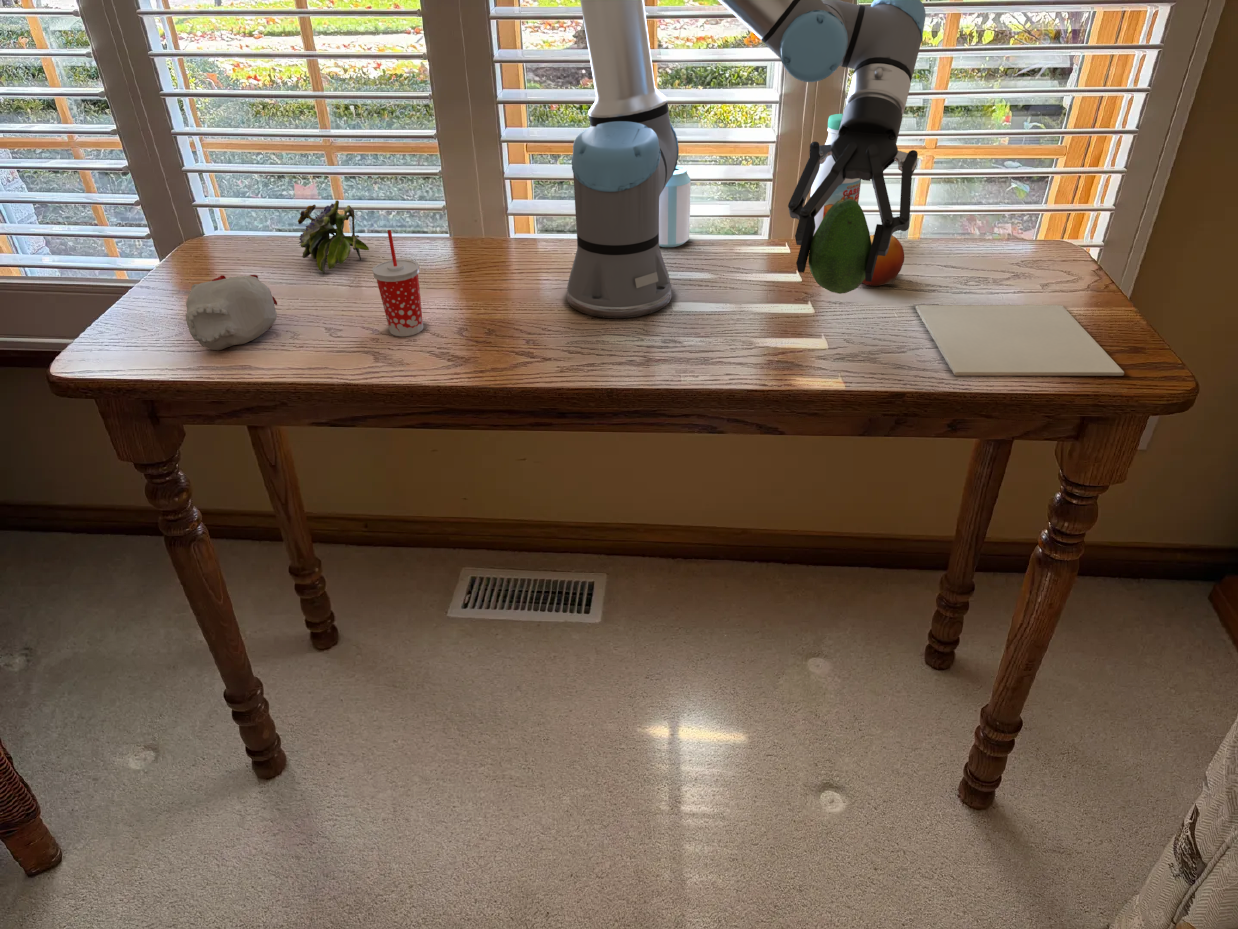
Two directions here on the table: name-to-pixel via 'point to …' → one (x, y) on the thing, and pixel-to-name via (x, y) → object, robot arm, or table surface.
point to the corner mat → (1015, 341)
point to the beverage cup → (400, 293)
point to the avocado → (840, 248)
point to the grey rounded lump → (229, 311)
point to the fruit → (887, 264)
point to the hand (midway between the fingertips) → (833, 272)
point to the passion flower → (328, 236)
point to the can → (675, 209)
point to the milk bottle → (843, 191)
